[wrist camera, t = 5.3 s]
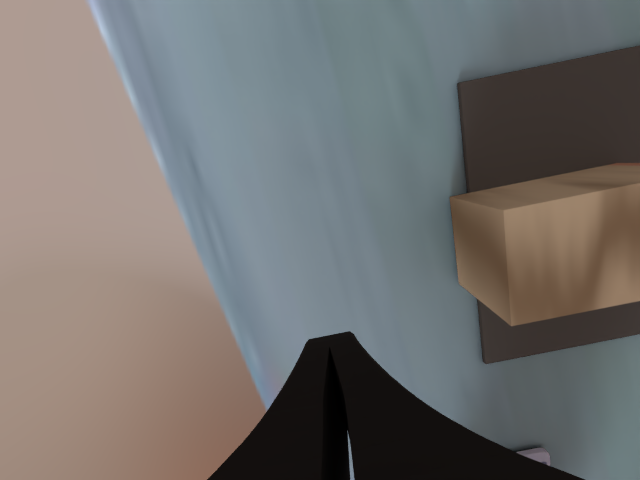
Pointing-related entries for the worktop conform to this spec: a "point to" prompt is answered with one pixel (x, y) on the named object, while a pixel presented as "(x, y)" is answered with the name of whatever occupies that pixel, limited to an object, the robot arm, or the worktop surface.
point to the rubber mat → (552, 166)
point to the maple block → (551, 243)
